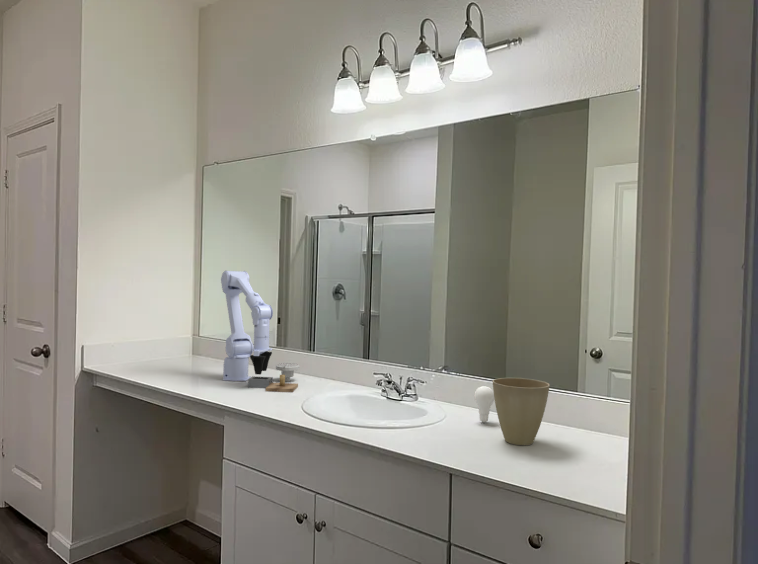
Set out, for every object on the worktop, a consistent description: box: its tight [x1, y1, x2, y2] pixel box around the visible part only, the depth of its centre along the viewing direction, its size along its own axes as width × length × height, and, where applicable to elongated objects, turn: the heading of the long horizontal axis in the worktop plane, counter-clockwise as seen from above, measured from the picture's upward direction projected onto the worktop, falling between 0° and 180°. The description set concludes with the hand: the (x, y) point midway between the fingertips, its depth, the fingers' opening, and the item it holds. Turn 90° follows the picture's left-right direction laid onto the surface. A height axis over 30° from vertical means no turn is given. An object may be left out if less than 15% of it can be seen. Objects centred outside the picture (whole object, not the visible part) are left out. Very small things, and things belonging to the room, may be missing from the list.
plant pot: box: [492, 377, 550, 446], centre depth 150 cm, size 15×15×16 cm
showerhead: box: [275, 362, 300, 383], centre depth 224 cm, size 9×7×10 cm
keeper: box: [265, 374, 299, 393], centre depth 209 cm, size 10×10×5 cm
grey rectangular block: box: [247, 375, 274, 389], centre depth 213 cm, size 8×6×3 cm
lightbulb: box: [473, 385, 495, 424], centre depth 169 cm, size 6×6×11 cm
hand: (260, 372), depth 213 cm, fingers open, 7 cm apart
